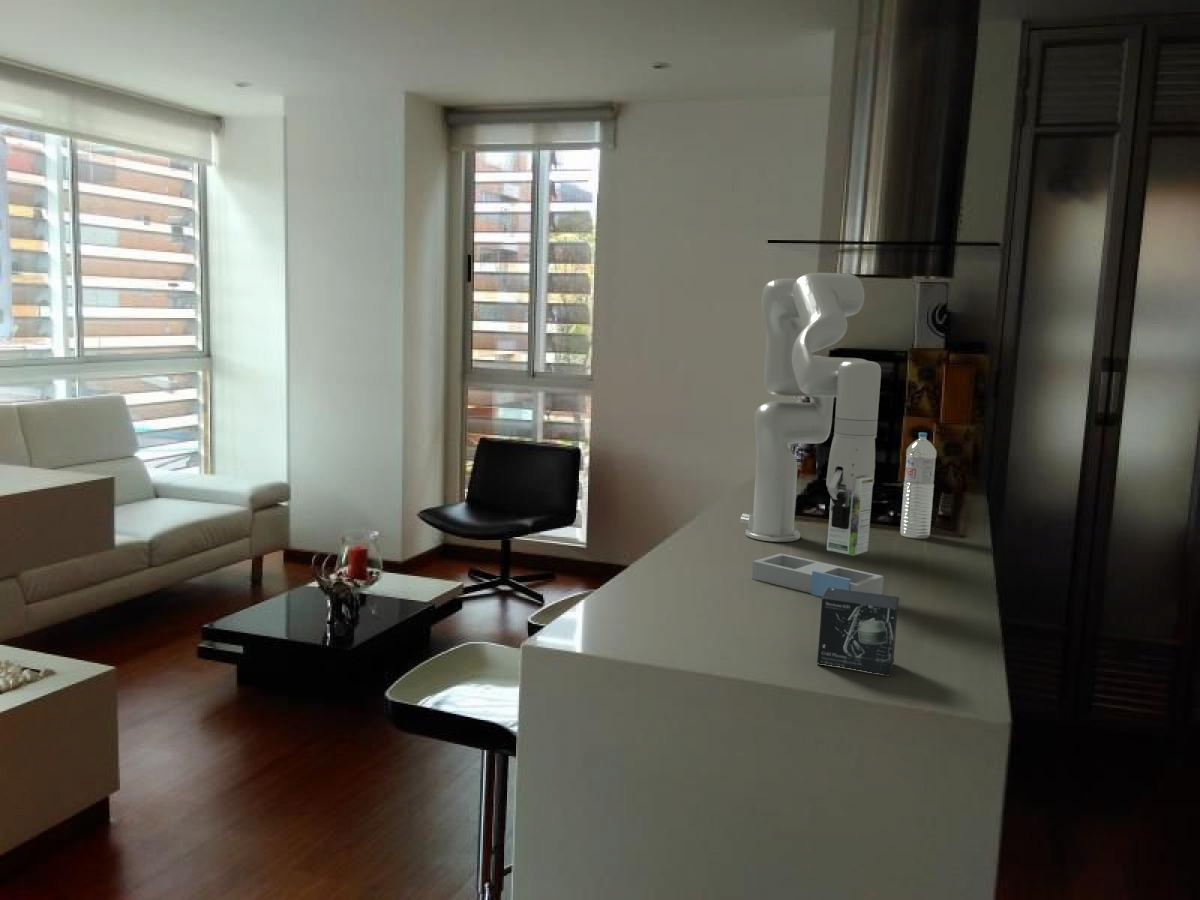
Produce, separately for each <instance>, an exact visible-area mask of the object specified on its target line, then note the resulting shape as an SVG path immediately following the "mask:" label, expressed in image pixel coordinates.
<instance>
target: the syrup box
mask: <svg viewBox="0 0 1200 900" xmlns="http://www.w3.org/2000/svg"><path fill="white" fill-rule="evenodd" d="M873 486H874V484H873V476H861V477H858V478H857V479H856V484H855V489H854V491H852V492H851V495H850V499H849V503H848V507H850V515H849V528H848V529H842V528H837V527H833V526H832V510H833V506H832V499H831V498H830V503H829V504H830V505H829V514H828V515H829V517H828V519H829V520H828V528H827V529H828V532H827V541H826V550H827V551H828V552H836V553H840V554H845V555H848V556H852V557H853V556H856V555H857V556H858V555H860V554H864V553H866V552H868V551H869V539H870V538H869V537H870V528H871V527H870V526H871V525H870V524H871V514H872V513H871V512H872V499H873V489H874V488H873ZM845 488H846V487H842V486H839V489H845ZM845 490H846V489H845ZM840 494H842V496H843V498H844V496H845V494H843V493H840Z"/></svg>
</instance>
